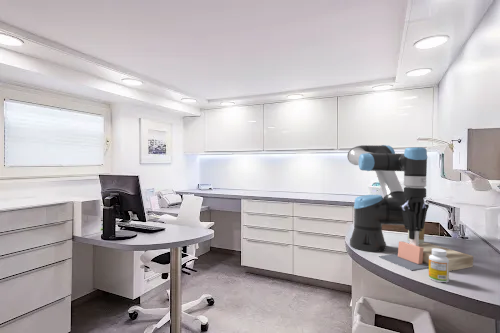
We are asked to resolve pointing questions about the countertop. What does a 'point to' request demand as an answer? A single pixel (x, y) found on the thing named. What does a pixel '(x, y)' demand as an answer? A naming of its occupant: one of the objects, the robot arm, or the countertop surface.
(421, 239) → the skincare box
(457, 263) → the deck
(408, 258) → the salmon pink rectangular block
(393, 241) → the countertop surface
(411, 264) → the mat
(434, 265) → the supplement bottle
